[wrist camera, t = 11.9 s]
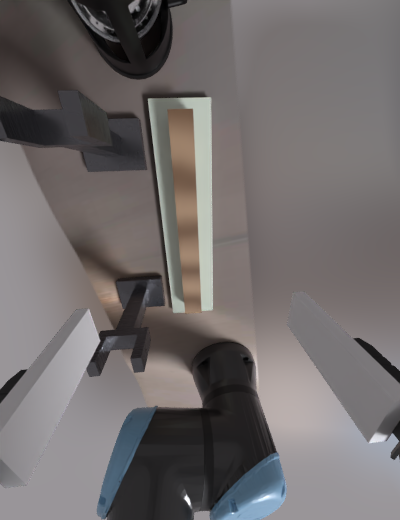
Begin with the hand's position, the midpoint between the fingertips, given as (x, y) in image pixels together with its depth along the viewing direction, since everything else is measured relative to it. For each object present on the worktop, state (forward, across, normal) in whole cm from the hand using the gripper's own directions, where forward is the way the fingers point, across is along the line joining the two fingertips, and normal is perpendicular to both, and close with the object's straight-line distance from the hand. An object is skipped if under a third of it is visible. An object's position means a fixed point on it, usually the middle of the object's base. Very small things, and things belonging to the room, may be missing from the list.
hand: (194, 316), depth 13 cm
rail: (+21, 0, -1) cm, 21 cm away
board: (+22, 0, 0) cm, 22 cm away
